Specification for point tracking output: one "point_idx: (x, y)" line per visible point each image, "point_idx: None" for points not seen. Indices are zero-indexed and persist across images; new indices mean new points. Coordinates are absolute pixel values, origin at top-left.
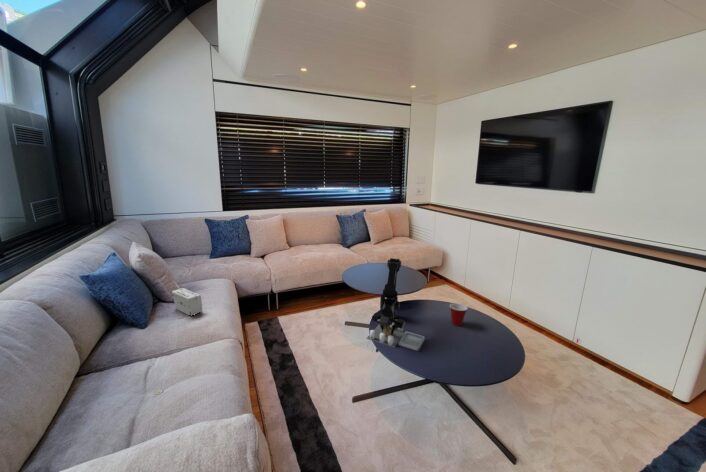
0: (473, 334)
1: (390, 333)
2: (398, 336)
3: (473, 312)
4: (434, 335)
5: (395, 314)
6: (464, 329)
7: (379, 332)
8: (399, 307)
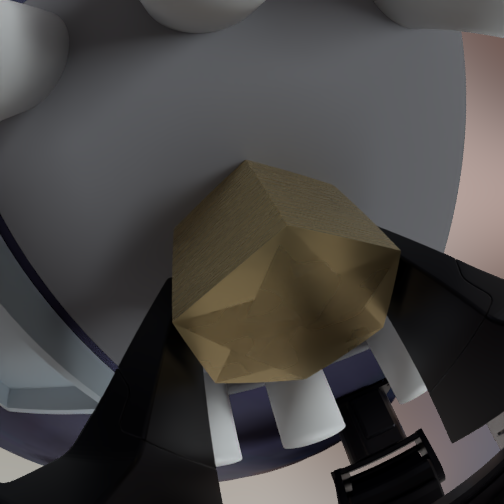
0: (28, 449)
1: (176, 275)
2: (113, 318)
3: None
4: (45, 425)
5: (339, 432)
6: None
7: (393, 201)
8: (334, 482)
